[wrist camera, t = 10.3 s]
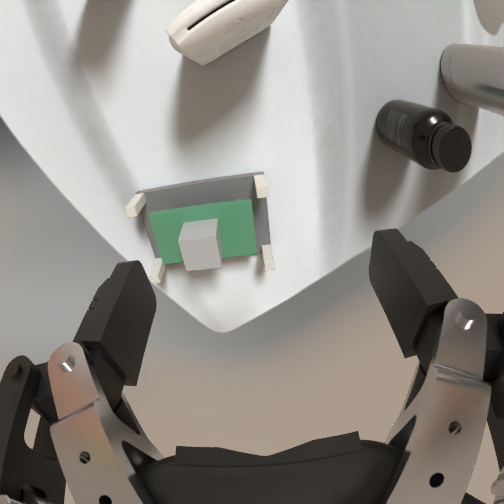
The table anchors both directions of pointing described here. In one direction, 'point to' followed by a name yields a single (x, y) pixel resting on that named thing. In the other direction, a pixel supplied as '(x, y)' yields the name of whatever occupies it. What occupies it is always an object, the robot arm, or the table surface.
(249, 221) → the module board
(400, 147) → the supplement bottle
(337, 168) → the table surface
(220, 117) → the table surface
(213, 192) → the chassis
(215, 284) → the table surface
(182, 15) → the white rounded block
